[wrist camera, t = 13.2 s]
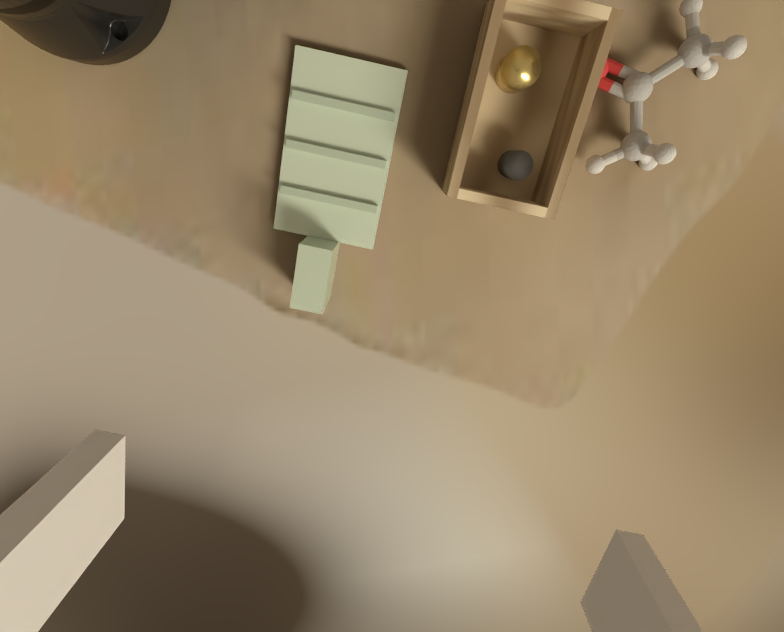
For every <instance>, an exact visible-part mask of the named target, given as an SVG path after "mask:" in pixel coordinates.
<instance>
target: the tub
mask: <svg viewBox="0 0 784 632" xmlns="http://www.w3.org/2000/svg"><path fill="white" fill-rule="evenodd" d="M622 11H623V10H621V9H616V8H612V7H608V6H604V5H600V4H596V3H592V2H587V1H583V0H489V1H488V2H487V4H486V7H485V11H484V15H483V19H482V23H481V28H480V32H479V36H478V40H477V44H476V49H475V53H474V57H473V61H472V65H471V70H470V74H469V78H468V82H467V86H466V91H465V95H464V99H463V103H462V107H461V111H460V116H459V120H458V124H457V128H456V132H455V137H454V141H453V145H452V149H451V153H450V158H449V162H448V166H447V170H446V174H445V179H444V183H443V187H442V191H443V192H444V193H445V194H446V195H447V196H448V197H453V198H457V199H462V200H466V201H471V202H475V203H480V204H485V205H489V206H494V207H498V208H503V209H507V210H512V211H517V212H521V213H526V214H530V215H535V216H539V217H544V218H549V219H553V220H554V219H555V216H556V213H557V210H558V207H559V204H560V200H561V197H562V194H563V191H564V188H565V185H566V182H567V179H568V176H569V173H570V170H571V167H572V164H573V161H574V158H575V155H576V152H577V149H578V146H579V143H580V140H581V136H582V133H583V130H584V127H585V124H586V121H587V118H588V115H589V112H590V109H591V106H592V103H593V100H594V97H595V94H596V91H597V88H598V85H599V82H600V79H601V76H602V72H603V69H604V66H605V63H606V60H607V57H608V54H609V51H610V48H611V45H612V42H613V39H614V36H615V33H616V30H617V27H618V24H619V21H620V18H621V15H622ZM520 45H528V46H531V47H533V48H534V49H536V50H537V51H538V53H539V54H540V57H541V60H542V69H541V73H540V75H539V77H538V79H537V80H536V82H535V83H533V84H532V85H531V86H529V87H527V88H525V89H523V90H521V91H519V92H517V93H513V94H509V93H505V92H503V91H502V90H500V89H499V87H498V86H497V84H496V82H495V69H496V67H497V65H498V63H499V62H500V60H501V59H502V58H503V57H505V56H506V55H507V54H508V53H509V52H510V51H511V50H512V49H514V48H515V47H517V46H520ZM510 150H522V151H526V152H527V153H529V154H530V155H531V157H532V159H533V169H532V171H531V173H530V174H529V176H528V177H526V178H525V179H522V180H513V179H509V178H506V177H504V176H502V175H501V174H500V172H499V170H498V161H499V158H500V157H501V155H502V154H503V153H505V152H507V151H510Z"/></svg>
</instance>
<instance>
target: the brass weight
mask: <svg viewBox="0 0 784 632" xmlns="http://www.w3.org/2000/svg"><path fill="white" fill-rule="evenodd" d="M541 69H542V60H541V57H540V54H539V53H538V51H537V50H536V49H534V48H533V47H531V46H528V45H520V46H517V47H515V48H514V49H512V50H511V51H510V52H509V53H508V54H507V55H506V56H505V57H503V58H502V59H501V60H500V62H499V63H498V65H497V67H496V69H495V82H496V84H497V86H498V87H499V89H500V90H502V91H503V92H505V93H509V94H513V93H517V92H519V91H521V90H523V89H525V88H527V87H529V86H531V85H532V84H533V83H535V82H536V80H537V79H538V77H539V75H540V73H541Z"/></svg>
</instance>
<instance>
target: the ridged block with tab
mask: <svg viewBox="0 0 784 632" xmlns="http://www.w3.org/2000/svg"><path fill="white" fill-rule="evenodd" d="M407 74H408V70H403V69H399V68H395V67H390V66H386V65H382V64H377V63H373V62H369V61H364V60H360V59H355V58H351V57H347V56H342V55H338V54H334V53H329V52H325V51H321V50H316V49H312V48H308V47H303V46H299V45H295V53H294V61H293V70H292V78H291V86H290V95H289V103H288V111H287V120H286V128H285V136H284V145H283V153H282V162H281V170H280V178H279V187H278V195H277V203H276V212H275V220H274V228H273V229H278V230H283V231H287V232H292V233H297V234H302V235H306V236H307V237H306V238H305V239H304V240H302V241H301V242H300V243H299V245H298V253H297V260H296V267H295V274H294V281H293V288H292V296H291V303H290V308H294V309H299V310H304V311H309V312H314V313H319V314H323V312H324V310H325V308H326V306H327V304H328V302H329V300H330V297H331V292H332V286H333V280H334V274H335V268H336V262H337V256H338V251H339V245H340V243H344V244H349V245H354V246H358V247H363V248H368V249H373V247H374V242H375V237H376V232H377V227H378V222H379V216H380V211H381V206H382V201H383V196H384V191H385V186H386V181H387V176H388V171H389V165H390V160H391V155H392V150H393V145H394V140H395V135H396V130H397V125H398V120H399V114H400V109H401V104H402V99H403V94H404V89H405V84H406V79H407Z"/></svg>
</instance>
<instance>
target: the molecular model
mask: <svg viewBox="0 0 784 632" xmlns="http://www.w3.org/2000/svg"><path fill="white" fill-rule="evenodd" d="M702 5H703V0H683V1H682V2H681V4H680V8H679V11H680V14H681V15H682V16H683V17H685V24H686V35H687V39H686V40H685V41H684V42H683V43H682V44H681V46H680V47H679V50H678V54H677V56H676V57H674V58H673V59H671V60H670V61H668V62H667V63H665V64H663V65H662V66H660V67H659V68H657V69H656V70H654V71H653V72H651V73H649V74H648V73H645V72H639V71H637V70H635V69H633V68H630V67H628V66H626V65H624V64H621V63H619V62H617V61H615V60H612V59H610V58H608V57H607V60H606V63H605V66H604V69H603V72H602V76H601V79H600V82H599V85H598V88H600V89H602V90H604V91H606V92H608V93H611V94H613V95H615V96H617V97H619V98H622V99H624V100H625V101H626V102H627V103H631V104H630V134H628V135H627V136H626V137H625V138H624V139H623V140H622V142H621V145H620V148H618V149H616V150H613V151H611V152H609V153H607V154H605V155H603V156H599V155H594V156H592V157H590V158H589V159H588V160H587V162H586V169H587V171H588V172H590V173H592V174H597V173H599V172H601V171H602V170H603V169H604V167H605V166H606V165H608V164H610V163H613V162H615V161H617V160H619V159H622V158H625V159H627V160H629V161H638V160H639V167H640V168H641V169H643V170H651V169H653V168H655V167H656V165H657V163H659V164H667V163H669V162H671V161H672V160H673V159H674V158H675V156H676V148H675V147H674V146H673V145H672V144H669V143H664V144H661V145H659V146H658V145H654V144H652V140H651V138H650V136H649V135H648V134H647V133H645V132H642V123H643V101H644V100H646V99H647V98H648V97H649V96H650V94H651V92H652V90H653V84H654V83H656V82H657V81H659V80H661V79H662V78H664V77H666V76H667V75H669V74H670V73H672V72H674V71H675V70H677V69H679V68H680V67H682V66H683V67H685V68H696V67H697V70H696V75H697V77H698V78H699V79H701V80H708V79H710V78H712V77H713V76H714V75H715V74H716V73H717V71H718V63H717V62H716V61H715V60H713V59H709V58H710V56H719V55H722V56H723V57H724V58H726V59H735V58H737V57H739V56H740V55H741V54H743V53H744V51H745V49H746V47H747V40H746V38H745V37H744V36H742V35H734V36H731V37H729V38H728V39H727V40H725V41H722V42H714V43H713V41H712V39H711V38H710V37H709V36H708V35H706V34H701V33H700V22H699V11H700V10H701V8H702ZM607 73H611V74H613V75H615V76H618V77H620V78H622V79H624V82H623V84H620V83H617V82H615V81H613V80H611V79H609V78H606V77H605V76H606V75H607Z"/></svg>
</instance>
